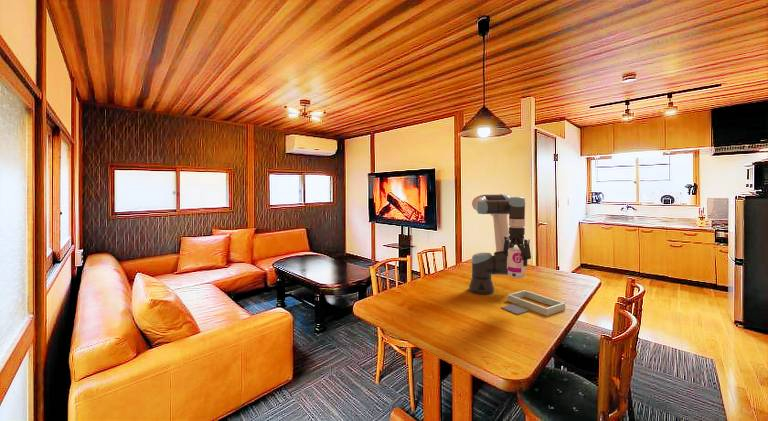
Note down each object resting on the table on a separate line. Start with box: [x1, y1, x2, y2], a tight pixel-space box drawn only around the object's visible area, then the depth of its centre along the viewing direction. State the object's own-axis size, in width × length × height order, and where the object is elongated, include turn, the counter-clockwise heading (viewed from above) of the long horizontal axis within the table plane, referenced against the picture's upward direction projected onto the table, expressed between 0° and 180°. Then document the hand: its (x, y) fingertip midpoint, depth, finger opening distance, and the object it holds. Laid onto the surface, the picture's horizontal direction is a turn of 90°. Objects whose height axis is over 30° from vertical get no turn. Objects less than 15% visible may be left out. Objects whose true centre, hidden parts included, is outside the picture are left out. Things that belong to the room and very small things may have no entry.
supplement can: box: [507, 246, 526, 279], centre depth 158 cm, size 8×8×15 cm
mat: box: [501, 303, 532, 316], centre depth 160 cm, size 10×10×1 cm
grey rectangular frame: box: [506, 289, 566, 317], centre depth 165 cm, size 24×15×4 cm, turn 28°
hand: (516, 270), depth 158 cm, fingers closed on supplement can, 8 cm apart
